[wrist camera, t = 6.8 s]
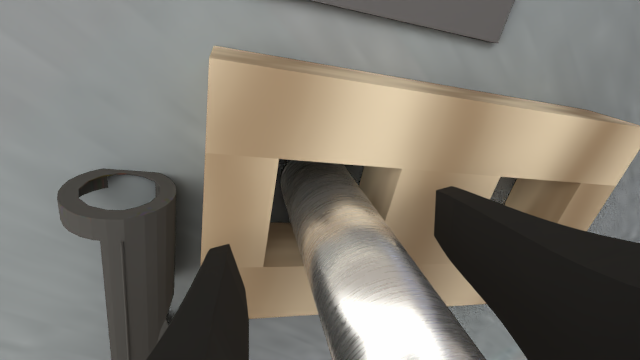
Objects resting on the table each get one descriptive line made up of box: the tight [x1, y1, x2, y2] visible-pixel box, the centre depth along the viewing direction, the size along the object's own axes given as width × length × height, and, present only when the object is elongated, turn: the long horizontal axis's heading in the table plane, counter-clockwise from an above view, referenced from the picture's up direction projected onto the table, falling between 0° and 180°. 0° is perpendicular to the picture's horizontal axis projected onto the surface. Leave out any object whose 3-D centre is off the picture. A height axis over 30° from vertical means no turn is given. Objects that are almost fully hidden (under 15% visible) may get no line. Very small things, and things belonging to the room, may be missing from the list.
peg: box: [280, 160, 486, 360], centre depth 10 cm, size 3×3×10 cm
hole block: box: [200, 46, 640, 319], centre depth 15 cm, size 18×10×3 cm, turn 79°
